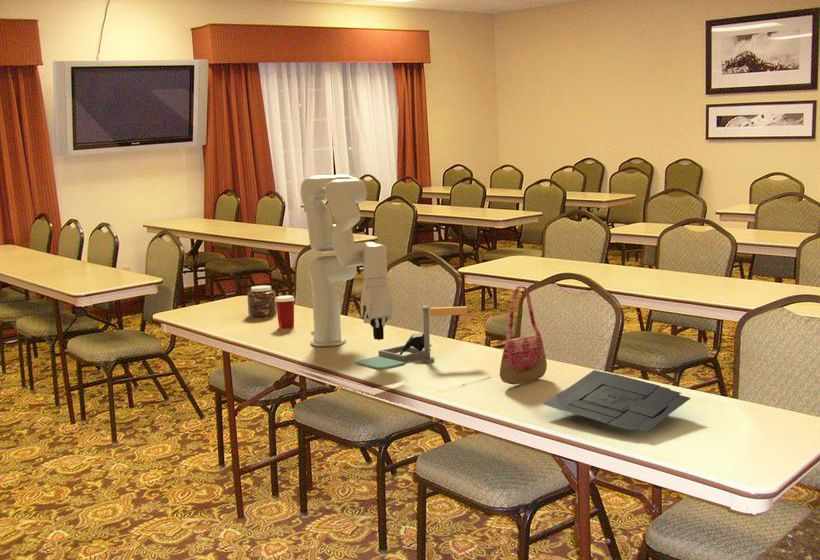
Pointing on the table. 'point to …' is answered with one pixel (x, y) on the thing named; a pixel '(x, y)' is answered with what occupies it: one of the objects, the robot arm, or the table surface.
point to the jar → (261, 302)
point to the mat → (379, 363)
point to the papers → (618, 400)
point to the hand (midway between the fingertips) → (378, 339)
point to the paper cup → (285, 311)
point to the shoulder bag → (522, 351)
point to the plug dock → (416, 353)
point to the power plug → (415, 342)
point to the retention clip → (448, 311)
